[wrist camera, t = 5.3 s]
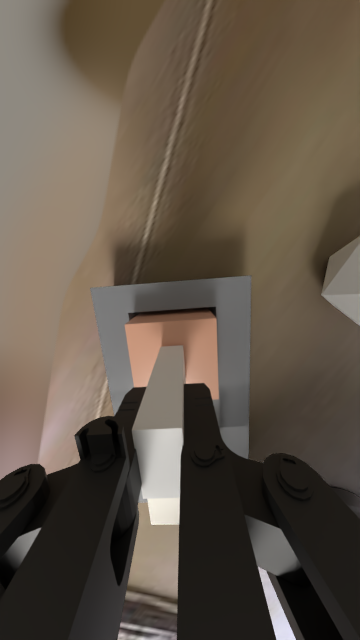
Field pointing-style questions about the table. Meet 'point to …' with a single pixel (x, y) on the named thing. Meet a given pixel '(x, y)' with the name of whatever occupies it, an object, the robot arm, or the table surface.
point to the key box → (232, 341)
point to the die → (344, 280)
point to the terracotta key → (175, 344)
